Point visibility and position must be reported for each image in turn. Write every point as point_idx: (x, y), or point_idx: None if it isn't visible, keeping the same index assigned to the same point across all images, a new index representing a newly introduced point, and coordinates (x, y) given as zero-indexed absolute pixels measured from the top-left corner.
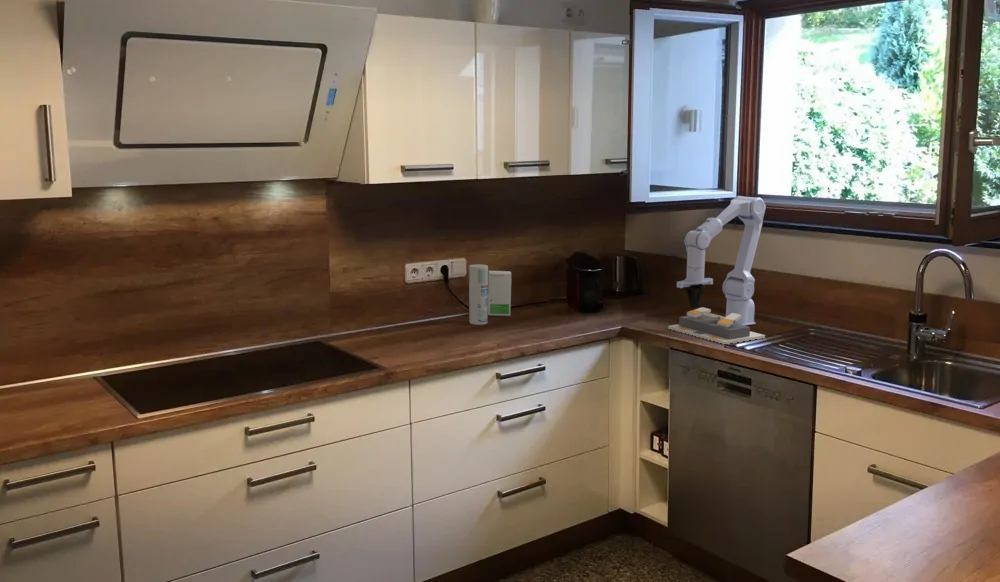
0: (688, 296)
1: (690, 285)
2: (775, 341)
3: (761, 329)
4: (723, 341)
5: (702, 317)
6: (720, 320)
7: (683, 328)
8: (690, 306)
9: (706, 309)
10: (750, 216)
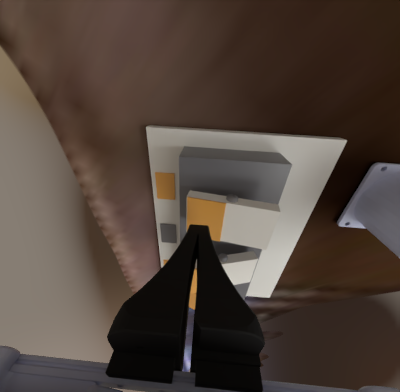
0: (169, 262)
1: (119, 383)
2: (259, 305)
3: (349, 259)
4: None
5: None
6: (195, 294)
7: (163, 186)
8: (189, 226)
9: (256, 240)
10: None
